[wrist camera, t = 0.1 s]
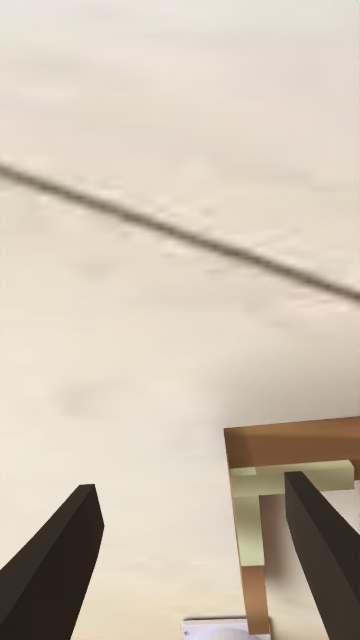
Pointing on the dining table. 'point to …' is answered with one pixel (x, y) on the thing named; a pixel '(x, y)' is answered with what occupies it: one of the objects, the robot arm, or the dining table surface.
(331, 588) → the robot arm
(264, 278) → the dining table surface
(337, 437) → the corner arena
